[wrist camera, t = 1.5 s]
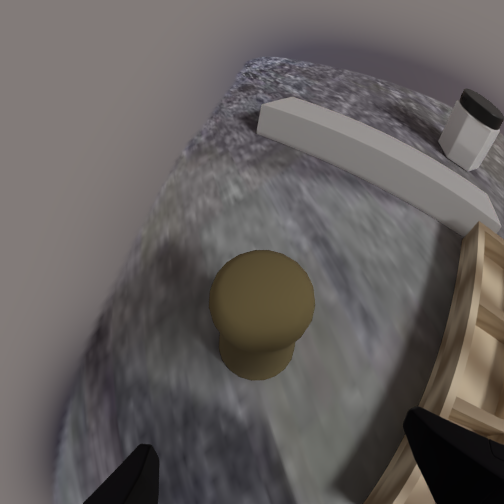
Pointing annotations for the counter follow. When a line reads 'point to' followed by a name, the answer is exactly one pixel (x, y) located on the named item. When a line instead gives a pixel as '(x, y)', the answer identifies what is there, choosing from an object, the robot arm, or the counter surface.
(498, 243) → the spice rack
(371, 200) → the counter surface
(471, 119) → the jar
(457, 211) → the decorative molding
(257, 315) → the olive pepper mill
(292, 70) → the counter surface
